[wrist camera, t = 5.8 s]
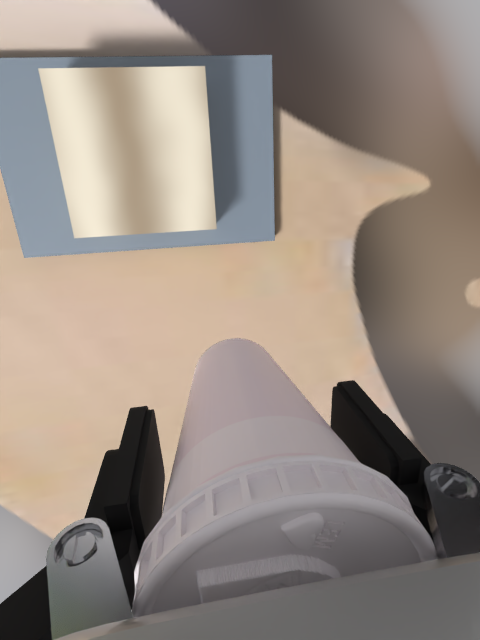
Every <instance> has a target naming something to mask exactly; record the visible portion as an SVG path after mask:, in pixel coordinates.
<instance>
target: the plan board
mask: <svg viewBox="0 0 480 640" xmlns="http://www.w3.org/2000/svg"><path fill="white" fill-rule="evenodd" d="M174 66H205V73H206V87H207V101H208V115H209V128H210V142H211V156H212V170H213V184H214V198H215V212H216V226H217V229H211V230H196V231H180V232H165V233H149V234H133V235H118V236H102V237H87V238H74V234H73V230H72V225H71V220H70V216H69V211H68V206H67V201H66V197H65V192H64V187H63V183H62V178H61V173H60V168H59V164H58V159H57V154H56V150H55V145H54V140H53V136H52V131H51V126H50V121H49V117H48V112H47V107H46V103H45V98H44V93H43V89H42V84H41V79H40V74H39V70H38V68H103V67H174ZM0 169H1V173H2V177H3V180H4V184H5V188H6V192H7V195H8V199H9V203H10V207H11V210H12V214H13V218H14V222H15V225H16V229H17V233H18V236H19V240H20V244H21V248H22V251H23V255H24V258H28V257H43V256H57V255H72V254H86V253H101V252H115V251H129V250H144V249H158V248H173V247H187V246H202V245H216V244H231V243H245V242H260V241H274V240H275V222H274V156H273V92H272V55H216V56H123V57H31V58H0Z"/></svg>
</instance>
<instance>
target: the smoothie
mask: <svg viewBox="0 0 480 640" xmlns="http://www.w3.org/2000/svg"><path fill="white" fill-rule="evenodd" d="M437 559H438V555H437V551H436V548H435V545H434V543H433V541H432V539H431V537H430V535H429V534H428V532H427V531H426V529H425V528H424V527H423V525H422V524H421V522H420V521H419V520H418V518H417V517H416V515H415V514H414V512H413V509H412V507H411V504H410V502H409V500H408V497H407V496H406V495H405V494H404V493H403V492H402V491H401V490H400V489H399V488H398V487H397V486H396V485H395V484H394V483H393V482H392V481H391V480H390V479H389V478H388V477H387V476H386V475H384V474H382V473H380V472H378V471H376V470H374V469H372V468H370V467H368V466H365V465H363V464H361V463H360V462H359V461H358V459H357V458H356V457H355V456H354V455H353V453H352V452H351V451H350V450H349V448H348V447H347V446H346V445H345V443H344V442H343V441H342V440H341V439H340V438H339V437H338V436H337V435H336V433H335V432H334V431H333V430H332V429H331V427H330V426H329V425H328V424H327V423H326V421H325V420H324V419H323V418H322V417H321V415H320V414H319V413H318V412H317V411H316V410H315V408H314V407H313V406H312V405H311V404H310V402H309V401H308V400H307V399H306V398H305V396H304V395H303V394H302V393H301V392H300V390H299V389H298V388H297V387H296V386H295V384H294V383H293V382H292V381H291V380H290V379H289V377H288V376H287V375H286V374H285V373H284V371H283V370H282V369H281V368H280V367H279V365H278V364H277V363H276V362H275V361H274V359H273V358H272V357H271V356H270V355H269V353H268V352H267V351H266V350H265V349H264V348H263V347H262V346H260V345H259V344H257V343H255V342H253V341H250V340H247V339H240V338H235V339H227V340H223V341H221V342H218V343H216V344H214V345H213V346H211V347H210V348H209V349H207V350H206V351H205V352H204V353H203V355H202V356H201V357H200V359H199V361H198V363H197V365H196V368H195V372H194V377H193V381H192V386H191V390H190V394H189V399H188V403H187V407H186V412H185V416H184V421H183V425H182V429H181V434H180V438H179V442H178V447H177V451H176V456H175V460H174V464H173V469H172V473H171V477H170V482H169V485H168V489H167V493H166V498H165V502H164V507H163V512H162V517H161V519H160V520H159V522H158V523H157V524H156V526H155V527H154V528H153V530H152V531H151V532H150V534H149V535H148V537H147V538H146V539H145V541H144V543H143V546H142V549H141V552H140V555H139V558H138V561H137V564H136V567H135V570H134V581H135V594H134V602H133V607H132V615H133V618H136V617H141V616H145V615H150V614H154V613H159V612H164V611H168V610H173V609H179V608H184V607H189V606H194V605H199V604H204V603H209V602H214V601H219V600H224V599H230V598H235V597H240V596H245V595H250V594H255V593H260V592H265V591H271V590H276V589H281V588H286V587H292V586H297V585H302V584H307V583H313V582H318V581H323V580H329V579H334V578H339V577H344V576H350V575H355V574H360V573H366V572H371V571H377V570H382V569H388V568H393V567H399V566H404V565H409V564H415V563H420V562H426V561H431V560H437Z"/></svg>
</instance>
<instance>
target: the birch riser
mask: <svg viewBox="0 0 480 640" xmlns="http://www.w3.org/2000/svg"><path fill="white" fill-rule="evenodd" d="M38 70H39V74H40V79H41V84H42V89H43V93H44V98H45V103H46V107H47V112H48V117H49V121H50V126H51V131H52V136H53V140H54V145H55V150H56V154H57V159H58V164H59V168H60V173H61V178H62V183H63V187H64V192H65V197H66V201H67V206H68V211H69V216H70V220H71V225H72V230H73V234H74V238H87V237H102V236H118V235H133V234H149V233H165V232H180V231H196V230H211V229H217V226H216V212H215V198H214V184H213V170H212V156H211V142H210V128H209V115H208V101H207V87H206V73H205V66H174V67H103V68H38Z"/></svg>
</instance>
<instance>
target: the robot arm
mask: <svg viewBox="0 0 480 640" xmlns="http://www.w3.org/2000/svg"><path fill="white" fill-rule="evenodd" d="M331 429H332V430H333V431H334V432H335V433H336V435H337V436H338V437H339V438H340V439H341V440H342V441H343V442H344V443H345V445H346V446H347V447H348V448H349V450H350V451H351V452H352V453H353V455H354V456H355V457H356V458H357V459H358V461H359V462H360V463H361V464H363V465H365V466H368V467H370V468H372V469H374V470H376V471H378V472H380V473H382V474H384V475H386V476H387V477H388V478H389V479H390V480H391V481H392V482H393V483H394V484H395V485H396V486H397V487H398V488H399V489H400V490H401V491H402V492H403V493H404V494H405V495H406V496H407V497H408V500H409V502H410V504H411V507H412V509H413V512H414V514H415V515H416V517H417V518H418V520H419V521H420V522H421V524H422V525H423V527H424V528H425V529H426V531H427V532H428V534H429V535H430V537H431V539H432V541H433V543H434V545H435V548H436V551H437V555H438V559H437V560H431V561H426V562H420V563H415V564H409V565H404V566H399V567H393V568H388V569H382V570H377V571H371V572H366V573H360V574H355V575H350V576H344V577H339V578H334V579H329V580H323V581H318V582H313V583H307V584H302V585H297V586H292V587H286V588H281V589H276V590H271V591H265V592H260V593H255V594H250V595H245V596H240V597H235V598H230V599H224V600H219V601H214V602H209V603H204V604H199V605H194V606H189V607H184V608H179V609H173V610H168V611H164V612H159V613H154V614H150V615H145V616H141V617H136V618H133V615H132V611H131V610H132V607H133V602H134V594H135V581H134V570H135V567H136V564H137V561H138V558H139V555H140V552H141V549H142V546H143V543H144V541H145V539H146V538H147V537H148V535H149V534H150V532H151V531H152V530H153V528H154V527H155V526H156V524H157V523H158V522H159V520H160V519H161V517H162V506H163V494H164V482H165V473H164V466H163V460H162V454H161V448H160V442H159V436H158V430H157V424H156V418H155V413H154V410H148V407H147V406H142V407H134V408H130V410H129V414H128V418H127V421H126V425H125V429H124V433H123V436H122V440H121V444H120V447H119V449H115V450H108V451H107V452H106V453H105V456H104V459H103V462H102V465H101V468H100V471H99V475H98V478H97V481H96V484H95V487H94V490H93V493H92V496H91V500H90V503H89V506H88V509H87V512H86V515H85V518H84V519H81V520H78V521H76V522H74V523H72V524H70V525H69V526H67V527H65V528H64V529H63V530H62V531H61V532H60V533H59V534H58V535H57V536H56V537H55V538H54V540H53V541H52V542H51V545H50V547H49V549H48V551H47V558H46V562H47V566H46V567H44V568H43V569H42V570H41V571H40V572H38V573H37V574H36V575H35V576H33V577H32V578H31V579H30V580H29V581H27V582H26V583H25V584H24V585H23V586H21V587H20V588H19V589H18V590H17V591H15V592H14V593H13V594H12V595H11V596H9V597H8V598H7V599H6V600H4V601H3V602H2V603H1V604H0V640H480V483H479V481H478V480H477V479H476V478H475V477H474V476H473V475H472V474H470V473H469V472H467V471H465V470H464V469H462V468H459V467H457V466H454V465H450V464H444V463H437V464H432V465H431V464H430V463H429V462H428V461H427V460H426V458H425V457H424V456H423V455H422V454H421V453H420V452H419V451H418V449H417V448H416V447H415V446H414V445H413V444H412V443H411V442H410V440H409V439H408V438H407V437H406V436H405V435H404V434H403V432H402V431H401V430H400V429H399V428H398V427H397V426H396V425H395V423H394V422H393V421H392V420H391V419H390V418H389V417H388V416H387V415H386V414H384V413H382V411H381V410H380V409H379V408H378V407H377V406H376V405H375V403H374V402H373V401H372V400H371V399H370V398H369V397H368V395H367V394H366V393H365V392H364V391H363V390H362V389H361V387H360V386H359V385H358V384H357V383H356V382H355V381H344V382H338V384H337V386H336V387H333V391H332V411H331Z"/></svg>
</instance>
